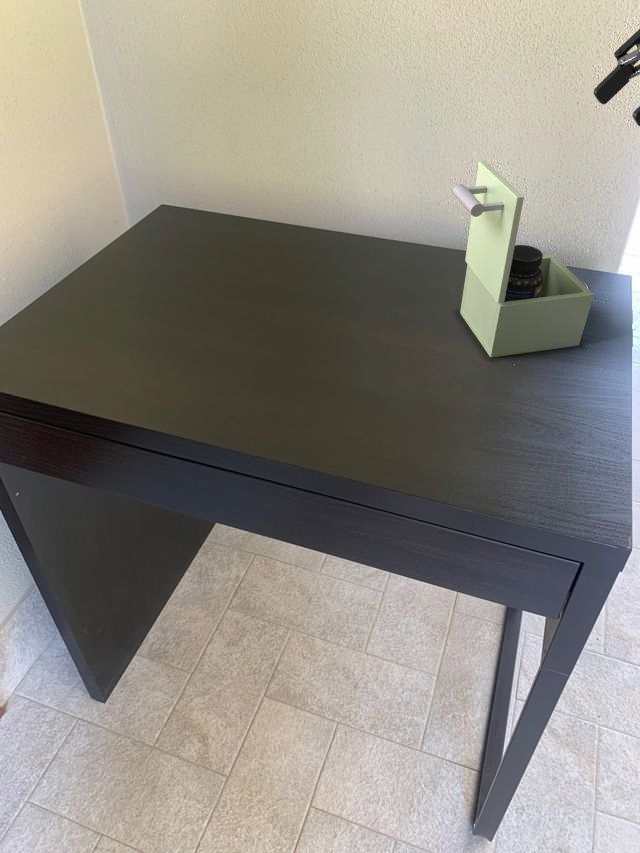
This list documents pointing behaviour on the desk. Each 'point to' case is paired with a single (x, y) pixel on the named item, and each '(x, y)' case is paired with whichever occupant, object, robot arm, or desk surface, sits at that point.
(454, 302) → the desk surface
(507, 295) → the pill bottle
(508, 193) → the green box lid
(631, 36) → the robot arm
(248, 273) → the desk surface
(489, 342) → the pale green open box
